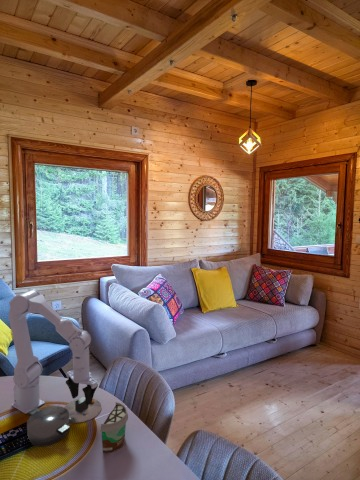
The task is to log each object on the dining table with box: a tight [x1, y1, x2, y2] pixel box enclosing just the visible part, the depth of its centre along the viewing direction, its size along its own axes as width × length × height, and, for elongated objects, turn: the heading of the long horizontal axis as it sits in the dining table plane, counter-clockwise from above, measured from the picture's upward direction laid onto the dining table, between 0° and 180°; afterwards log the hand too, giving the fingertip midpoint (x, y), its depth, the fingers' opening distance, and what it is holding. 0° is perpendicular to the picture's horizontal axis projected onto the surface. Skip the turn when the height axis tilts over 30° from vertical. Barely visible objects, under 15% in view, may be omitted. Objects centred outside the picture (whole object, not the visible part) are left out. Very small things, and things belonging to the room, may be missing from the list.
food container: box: [99, 401, 129, 454], centre depth 101 cm, size 12×6×10 cm, turn 168°
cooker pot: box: [26, 405, 71, 447], centre depth 106 cm, size 18×13×5 cm
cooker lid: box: [63, 395, 102, 424], centre depth 118 cm, size 14×14×4 cm
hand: (82, 400), depth 118 cm, fingers open, 7 cm apart
